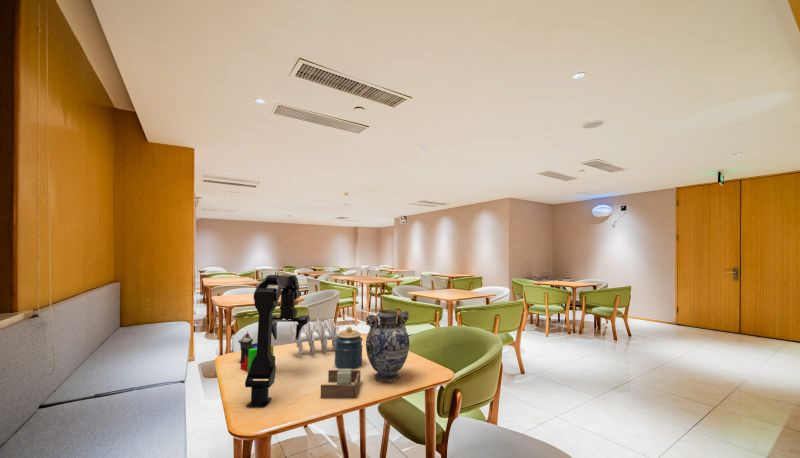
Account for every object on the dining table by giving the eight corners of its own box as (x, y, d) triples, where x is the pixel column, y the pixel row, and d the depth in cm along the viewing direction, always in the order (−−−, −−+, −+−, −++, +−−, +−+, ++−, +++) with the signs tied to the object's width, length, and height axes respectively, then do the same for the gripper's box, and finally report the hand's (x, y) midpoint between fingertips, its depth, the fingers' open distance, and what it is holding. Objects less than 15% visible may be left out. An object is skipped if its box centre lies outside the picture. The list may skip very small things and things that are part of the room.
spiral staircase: (340, 360, 178) (292, 364, 166) (332, 338, 193) (287, 341, 181) (348, 331, 173) (298, 334, 161) (339, 311, 187) (293, 312, 175)
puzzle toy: (261, 363, 160) (262, 341, 161) (272, 368, 154) (273, 345, 154) (240, 368, 152) (241, 346, 153) (251, 374, 146) (252, 350, 147)
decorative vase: (376, 390, 130) (377, 316, 132) (355, 376, 145) (356, 310, 147) (420, 379, 141) (420, 312, 144) (396, 367, 157) (397, 306, 159)
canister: (365, 367, 155) (366, 328, 156) (337, 371, 150) (338, 331, 151) (358, 359, 167) (359, 323, 168) (332, 362, 162) (333, 325, 164)
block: (349, 392, 128) (350, 373, 129) (336, 392, 128) (337, 373, 129) (351, 386, 133) (351, 368, 134) (338, 386, 133) (339, 368, 134)
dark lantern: (247, 364, 158) (248, 332, 159) (234, 363, 159) (235, 331, 160) (255, 360, 164) (257, 328, 165) (243, 359, 166) (244, 328, 167)
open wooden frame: (356, 398, 123) (356, 385, 123) (320, 398, 123) (320, 385, 123) (360, 381, 139) (360, 370, 139) (328, 381, 139) (329, 370, 139)
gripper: (312, 300, 157) (312, 335, 156) (272, 300, 156) (271, 334, 155) (306, 304, 146) (305, 341, 145) (263, 304, 145) (262, 341, 144)
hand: (286, 339), depth 148 cm, fingers open, 9 cm apart
